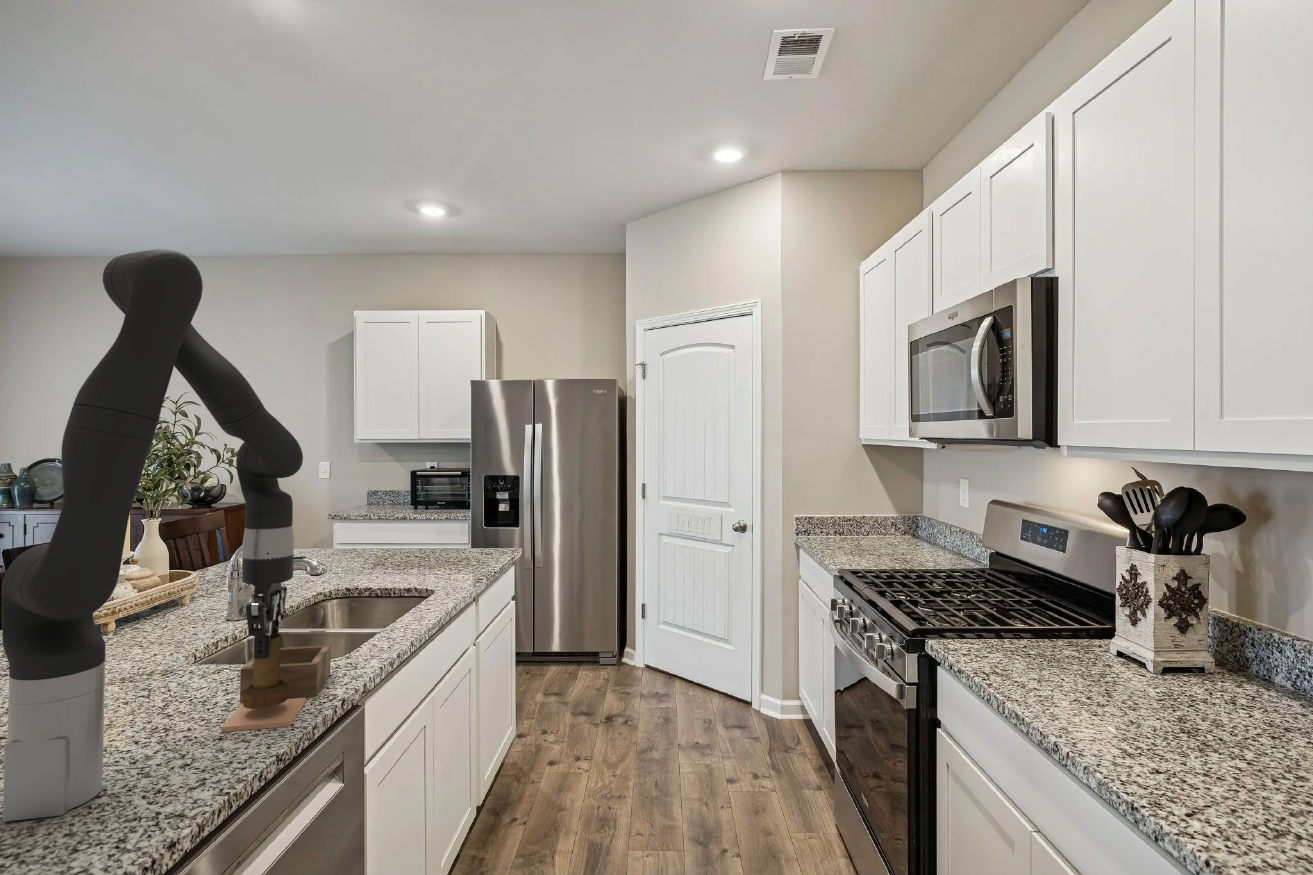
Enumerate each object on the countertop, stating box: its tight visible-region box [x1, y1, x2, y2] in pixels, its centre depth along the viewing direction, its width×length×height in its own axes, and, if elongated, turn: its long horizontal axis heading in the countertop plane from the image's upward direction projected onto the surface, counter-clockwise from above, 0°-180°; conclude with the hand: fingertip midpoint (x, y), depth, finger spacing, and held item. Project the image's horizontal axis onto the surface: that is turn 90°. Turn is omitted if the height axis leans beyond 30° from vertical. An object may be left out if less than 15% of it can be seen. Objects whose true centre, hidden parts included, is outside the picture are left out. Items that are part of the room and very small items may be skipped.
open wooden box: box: [239, 644, 332, 704], centre depth 123 cm, size 11×12×6 cm
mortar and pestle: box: [243, 604, 288, 709], centre depth 110 cm, size 7×6×18 cm
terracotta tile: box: [220, 697, 307, 733], centre depth 110 cm, size 10×10×1 cm
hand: (266, 653), depth 110 cm, fingers closed on mortar and pestle, 4 cm apart
